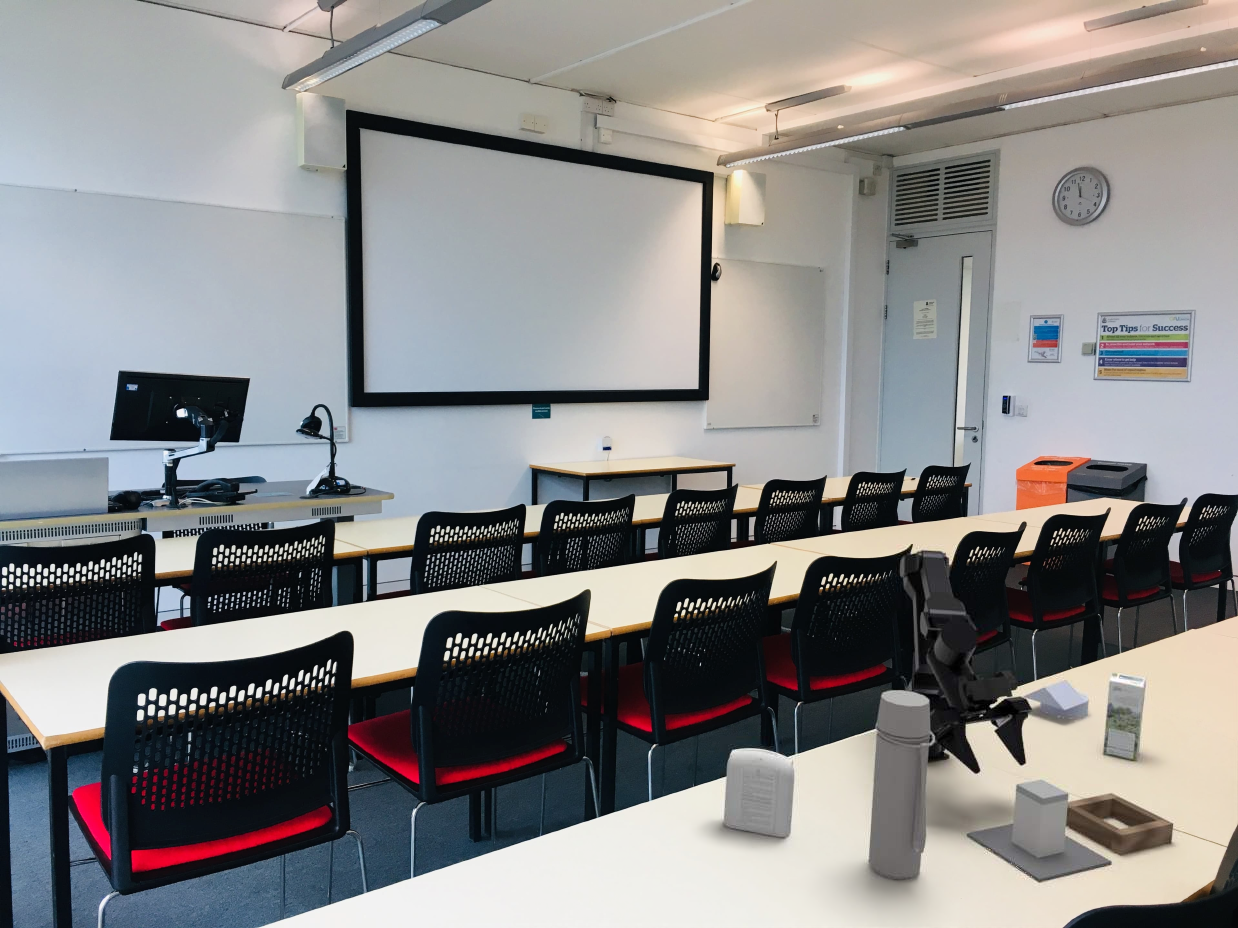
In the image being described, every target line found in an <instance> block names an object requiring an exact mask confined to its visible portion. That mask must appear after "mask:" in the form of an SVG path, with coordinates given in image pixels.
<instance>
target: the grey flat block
mask: <svg viewBox="0 0 1238 928" xmlns="http://www.w3.org/2000/svg"><path fill="white" fill-rule="evenodd" d="M725 780H726V781H725V793H724V796H725V797H724V811H723V813H724V814H723V824H724V826H725V827H728V828H732V829H737V830H740V831H745V832H752V833H757V834H761V835H766V836H772V837H779V838H787V837H788V836H790V834H791V833H792V832H791V831H792V820H793V818H792V817H793V805H794V804H793V802H794V788H795V769H794V762H793V759H791V758H789V757H787V756H786V755H784V754H780V753H778V752H774V751H772V750H767V749H763V748H751V747H750V748H748V747H747V748H738V749H737V748H736V749H732V750H731V752H730V754H729V758H728V760H727V765H726V779H725Z"/></svg>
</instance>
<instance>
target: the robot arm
mask: <svg viewBox="0 0 1238 928" xmlns="http://www.w3.org/2000/svg"><path fill="white" fill-rule="evenodd" d="M899 575H900V577H901V578H903V579H902V580H903V588H904V591H906V593H907V595H908V596H909V597H910V598H911V600H912V606H913V611H912V612H913V632H914V633H913V634H914V635H913V637H914V654H915V655H914V658H915V672H914V674H913V676H912V677H911V679H910V681H909V684H908V686H907V691H909V692H915V693H918V694H921V695H924V696H925V697H926V698H928V699H929V705H930V731H931V732H932V733H933V734H934V735H935V742H934V743H933V745H932V746H929V749H928V763H929V762H935V761H940V760H947V759H949V758H950V754H951V755H952V756H954V757H955V758H956V759H957V760H958V761H960V762H961V763H962V764H963V765H964V766H965V767H967V768H968V770H970V771H971V772H972V773H973V774H975V775H977V774H979V773H981V768H980V766H979V762H978V760H977V757H976V755H975V753H974V751H973V749H972V746H971V745H970V743H969V740H968V738H967V727H966V726H967V725H972V724H977V723H984V722H990V723H991V725H993V726H994V727H996V729H994V733H995V735H997V737H998V738H999V740H1000V741H1001V742H1002V744H1003V745H1004V747H1006V749H1007V752H1009V754H1010V755H1011V756H1012V758H1013V759H1014V760H1015V761H1016V762H1017V764H1018V765H1019V766H1021V767H1022V766H1024V765H1026V764H1027V759H1026V752H1025V746H1024V738H1023V724H1024V722H1025V720H1027V719H1028V718H1029V714H1030V713H1031V712H1033V708H1032V707H1031V705H1030V703H1029V700H1028V698H1025V697H1023V696H1014V697H1013V692H1012V691H1016V690H1017V689H1018V685H1017V684H1018V683H1017V680H1016V677H1015V676H1014V674H1013V673H1012V672H1011V670H1002V671H995V673H994V677H993V678H984V676H983V675H982V674H981V673H980V672H979V673H978V672H977V673H974V671H973V670H972V667H971V665H970V664H969V661H970V659H971V657H972V656H973V653H974V651H975V649H976V647H977V645H978V643H979V634H978V629H977V627H976V626H975V624H974V623H973V621H972V620H971V617H970V615H969V614H967V612H966V609H965V605H964V603H963V602H962V601H960V599H958V598H956V597H954V594H953V591H952V586H951V582H950V579H949V577H950V557H948V556H947V554H946V552H943V551H941V550H927V549H922V550H920V551H916V552H915V553H907V554H905V555H903V557H902V558H901V560H900V564H899ZM1003 697H1006V698H1004V699H1003V700H1001V701H1000V702H998V699H999V698H1003ZM996 703H997V704H996ZM995 704H996V705H995ZM991 705H995V706H993V707H991ZM932 739H933V738H932V736H931V734H930V736H929V743H931V742H932ZM945 751H947V752H948V753H950V754H948V753H946V752H945Z"/></svg>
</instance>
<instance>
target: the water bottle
mask: <svg viewBox="0 0 1238 928" xmlns="http://www.w3.org/2000/svg"><path fill="white" fill-rule="evenodd" d="M876 719H877V720H876V723H875V730H876V732H877V733H876V738H875V739H876V741H875V751H874V752H875V755H874V767H873V768H874V770H873V772H874V773H873V785H872V786H873V787H872V788H873V789H872V801H871V816H870V817H871V820H870V821H871V822H870V835H869V851H868V863H869V864H870V866H871V867H872V869H873V870H874V872H875V873H878V874H879V875H881V876H882V877H884V878H885V877H886V878H889V879H894V880H908V879H911V878H913V877H915V876H917V875H918V874H919V873H920V870H921V864H922V862H921V861H922V854H923V853H924V852H925V847H926V840H927V807H926V806H927V799H926V798H927V794H926V793H927V792H926V791H927V789H926V787H927V778H928V777H927V776H928V764H929V762H928V749H929V746H932V745H933V743H934V742H935V735H934V734H933V733H932V732H931V731H930V705H929V699H928V698H926V697H925V696H924V695H921V694H918V693H915V692H909V691H908V690H903V689H902V690H901V689H900V690H894V689H892V690H887V691H883V692H882V693H881V696H880V702H879V708H878V714H877V718H876ZM930 734H931V736H932V738H933V739H932V742H931V743H929V736H930Z"/></svg>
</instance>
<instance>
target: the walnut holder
mask: <svg viewBox="0 0 1238 928" xmlns="http://www.w3.org/2000/svg"><path fill="white" fill-rule="evenodd" d="M1110 817H1111V818H1113V819H1116V820H1118V821H1119V822H1120V823H1123V824H1126V826H1127V825H1128V827H1124V828H1121V829H1120V828H1119V827H1117V826H1115V825H1113V824H1111V823H1109V822H1107V821H1105V820H1103V819H1105V818H1110ZM1066 827H1069V828H1070V829H1073V830H1074V831H1076V832H1078V833H1080V834H1081V835H1083V836H1084V837H1087V838H1089V839H1090V840H1092V841H1094V842H1096V843H1098V844H1100V845H1101V846H1103V847H1105V848H1107V849H1109V850H1110V851H1112V852H1114V853H1116V854H1118V855H1126V854H1129V853H1133V852H1137V851H1141V850H1145V849H1149V848H1153V847H1158V846H1161V845H1166V844H1170V843H1172V840H1173V829H1174V822H1171V821H1169V820H1167V819H1165V818H1163V817H1161V816H1160V815H1157V814H1155V813H1153V812H1151V811H1149V810H1146V809H1144V808H1143V807H1141V806H1139V805H1137V804H1135V803H1132V802H1131V801H1129V800H1127V799H1125V798H1123V797H1120V796H1118V795H1116V794H1114V793H1112V792H1110V793H1106V794H1105V793H1104V794H1101V795H1097V796H1096V795H1095V796H1090V797H1086V798H1082V799H1077V800H1071V801H1068V806H1067V818H1066Z"/></svg>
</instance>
